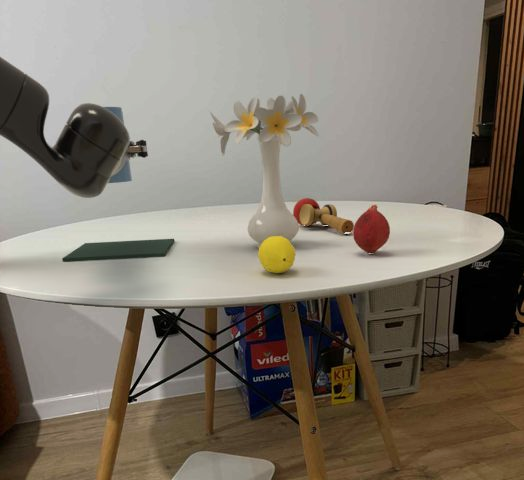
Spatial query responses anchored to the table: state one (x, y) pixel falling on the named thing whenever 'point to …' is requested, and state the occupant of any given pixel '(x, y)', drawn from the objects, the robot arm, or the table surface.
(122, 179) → the tumbler
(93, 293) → the table surface
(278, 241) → the lemon
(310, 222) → the kendama
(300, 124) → the flower vase
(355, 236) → the onion
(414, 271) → the table surface
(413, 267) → the table surface
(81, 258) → the mat
